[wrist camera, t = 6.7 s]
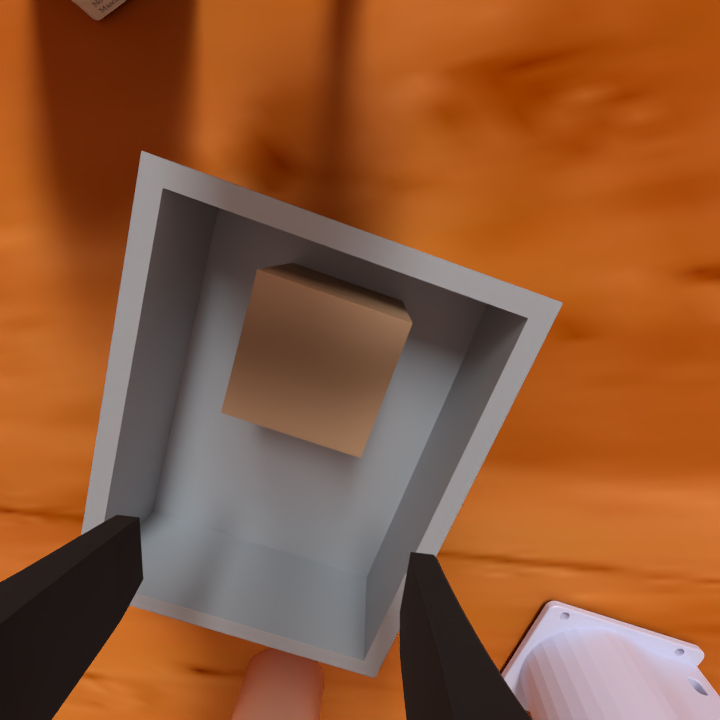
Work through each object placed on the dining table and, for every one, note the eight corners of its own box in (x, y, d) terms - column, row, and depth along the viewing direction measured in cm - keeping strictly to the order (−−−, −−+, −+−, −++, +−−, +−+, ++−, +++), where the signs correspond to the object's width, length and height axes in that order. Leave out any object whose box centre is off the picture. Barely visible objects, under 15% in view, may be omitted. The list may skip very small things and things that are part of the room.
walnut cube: (365, 401, 18) (360, 457, 13) (262, 367, 18) (221, 412, 13) (402, 301, 17) (412, 323, 12) (292, 262, 16) (257, 269, 12)
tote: (510, 286, 17) (563, 302, 12) (375, 583, 22) (374, 678, 17) (211, 178, 16) (141, 150, 11) (141, 510, 21) (72, 588, 16)
